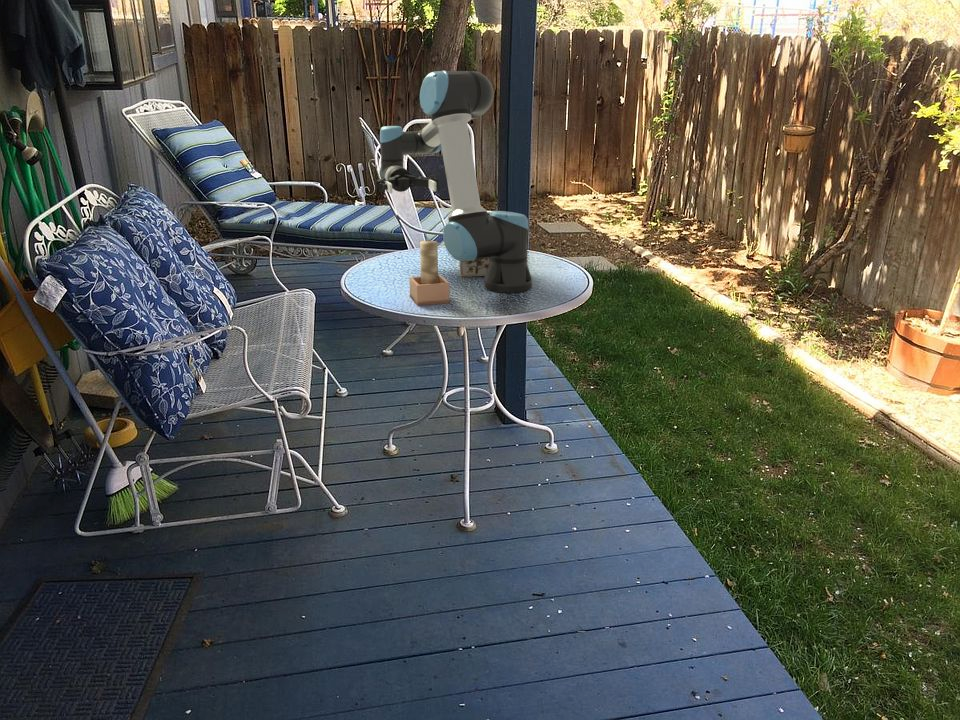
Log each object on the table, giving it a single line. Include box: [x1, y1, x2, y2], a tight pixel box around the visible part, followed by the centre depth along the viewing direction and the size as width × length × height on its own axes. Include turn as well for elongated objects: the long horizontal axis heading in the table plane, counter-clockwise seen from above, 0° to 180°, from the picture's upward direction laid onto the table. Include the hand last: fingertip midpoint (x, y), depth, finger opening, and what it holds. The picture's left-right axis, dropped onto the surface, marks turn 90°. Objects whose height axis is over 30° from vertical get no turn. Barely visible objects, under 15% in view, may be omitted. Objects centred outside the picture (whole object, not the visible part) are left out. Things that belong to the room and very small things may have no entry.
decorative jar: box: [459, 257, 490, 278], centre depth 246 cm, size 12×12×18 cm
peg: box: [419, 240, 439, 284], centre depth 217 cm, size 5×5×16 cm
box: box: [408, 274, 451, 307], centre depth 219 cm, size 10×10×6 cm
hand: (413, 187), depth 225 cm, fingers open, 13 cm apart
